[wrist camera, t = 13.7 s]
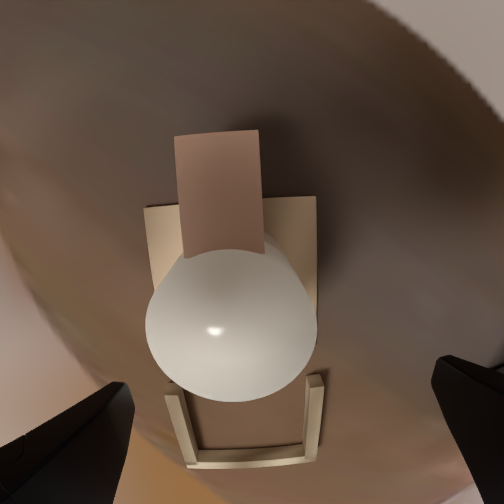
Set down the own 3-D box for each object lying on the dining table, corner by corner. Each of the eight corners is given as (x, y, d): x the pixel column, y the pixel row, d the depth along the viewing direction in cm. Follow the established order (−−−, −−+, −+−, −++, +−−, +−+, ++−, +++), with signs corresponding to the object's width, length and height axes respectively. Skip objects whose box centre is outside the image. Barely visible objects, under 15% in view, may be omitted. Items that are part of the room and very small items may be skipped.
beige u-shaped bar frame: (319, 373, 21) (324, 386, 19) (312, 449, 23) (315, 460, 22) (168, 382, 21) (164, 395, 19) (189, 456, 23) (187, 468, 21)
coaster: (314, 195, 18) (315, 196, 18) (314, 346, 20) (315, 348, 20) (145, 207, 18) (143, 208, 17) (168, 354, 20) (167, 357, 20)
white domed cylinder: (291, 325, 19) (313, 395, 13) (185, 331, 19) (163, 402, 13) (285, 144, 17) (313, 126, 10) (165, 153, 17) (120, 142, 10)
